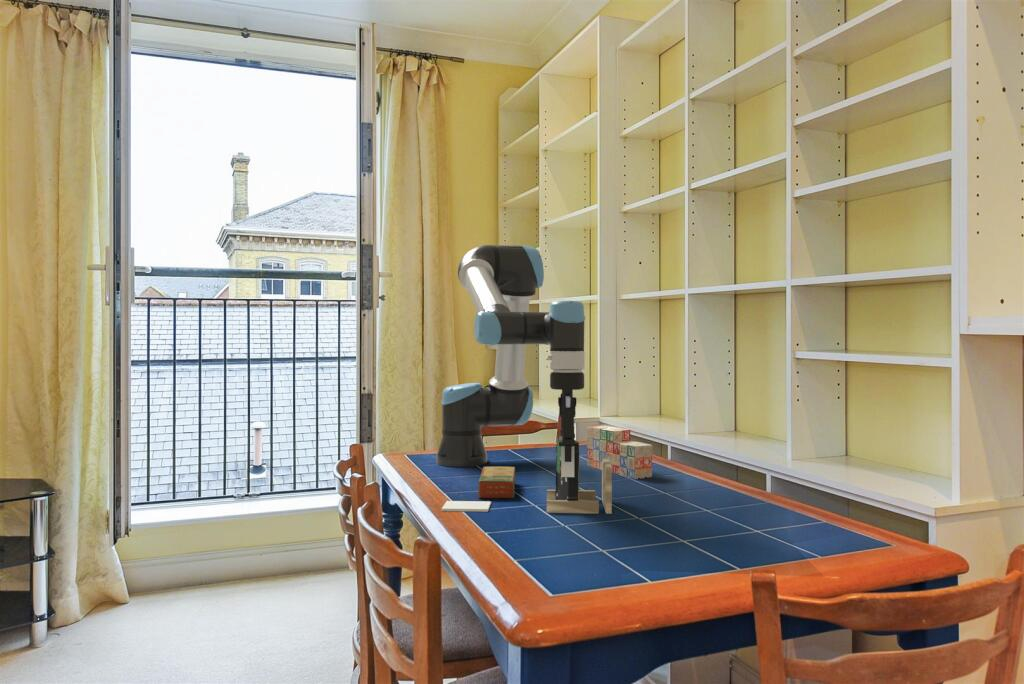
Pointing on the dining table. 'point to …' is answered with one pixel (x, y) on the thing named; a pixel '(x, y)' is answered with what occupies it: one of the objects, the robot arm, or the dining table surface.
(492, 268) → the robot arm
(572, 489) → the disk drive
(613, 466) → the stack of blocks
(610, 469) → the wooden holder
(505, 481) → the carton
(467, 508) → the pad
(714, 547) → the dining table surface
